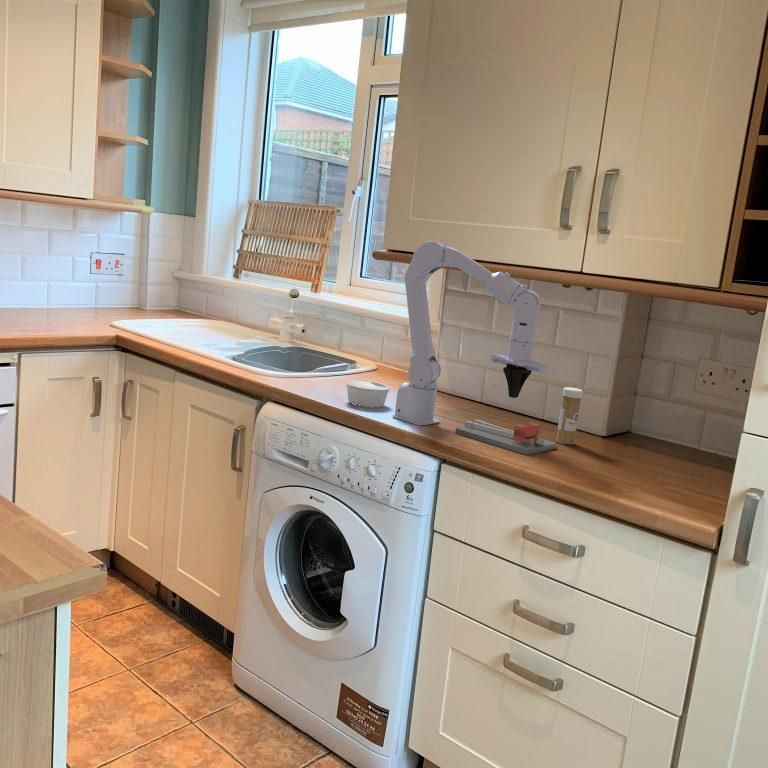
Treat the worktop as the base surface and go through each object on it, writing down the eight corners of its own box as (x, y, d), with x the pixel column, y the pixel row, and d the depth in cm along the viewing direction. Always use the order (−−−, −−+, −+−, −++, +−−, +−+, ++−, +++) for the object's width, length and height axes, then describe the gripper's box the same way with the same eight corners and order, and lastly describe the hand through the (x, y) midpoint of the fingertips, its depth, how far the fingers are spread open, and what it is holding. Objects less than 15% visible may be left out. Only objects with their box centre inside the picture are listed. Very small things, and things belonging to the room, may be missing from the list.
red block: (512, 439, 186) (514, 425, 185) (528, 436, 191) (530, 422, 190) (521, 442, 184) (523, 427, 184) (537, 439, 189) (539, 424, 189)
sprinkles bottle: (571, 446, 193) (580, 391, 191) (552, 442, 196) (561, 387, 193) (576, 443, 197) (585, 389, 195) (558, 439, 200) (567, 385, 197)
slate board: (455, 433, 193) (455, 428, 193) (486, 427, 203) (487, 423, 202) (526, 455, 180) (527, 449, 180) (556, 448, 190) (556, 443, 189)
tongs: (463, 426, 196) (464, 420, 196) (476, 424, 200) (477, 418, 200) (536, 447, 183) (537, 441, 182) (548, 445, 186) (549, 439, 186)
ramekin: (395, 406, 215) (397, 387, 214) (369, 411, 206) (372, 391, 206) (362, 398, 222) (364, 379, 221) (336, 401, 213) (338, 382, 212)
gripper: (487, 336, 193) (479, 391, 195) (539, 346, 184) (530, 405, 186) (503, 335, 198) (495, 389, 201) (555, 346, 189) (546, 402, 191)
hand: (513, 397), depth 194 cm, fingers closed
